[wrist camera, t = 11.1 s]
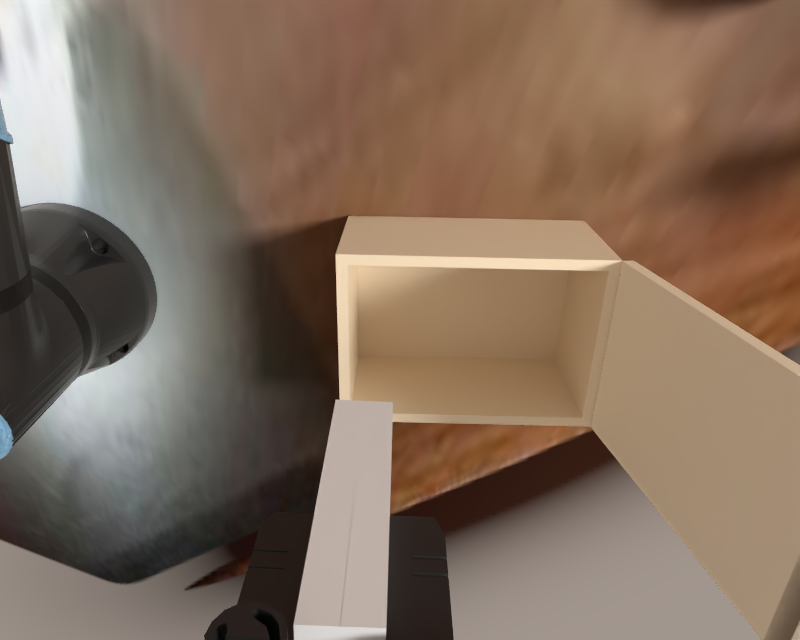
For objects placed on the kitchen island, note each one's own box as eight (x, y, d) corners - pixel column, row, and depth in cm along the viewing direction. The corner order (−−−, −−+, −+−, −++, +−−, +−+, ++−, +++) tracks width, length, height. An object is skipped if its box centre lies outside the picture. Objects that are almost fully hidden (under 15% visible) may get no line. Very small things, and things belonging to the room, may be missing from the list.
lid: (780, 663, 29) (795, 660, 30) (885, 432, 23) (904, 430, 23) (590, 427, 47) (601, 426, 47) (622, 261, 41) (634, 260, 41)
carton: (351, 359, 56) (340, 420, 47) (348, 215, 50) (335, 254, 41) (561, 364, 56) (590, 426, 47) (583, 220, 50) (622, 260, 41)
